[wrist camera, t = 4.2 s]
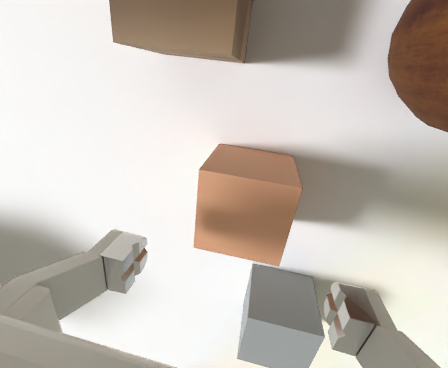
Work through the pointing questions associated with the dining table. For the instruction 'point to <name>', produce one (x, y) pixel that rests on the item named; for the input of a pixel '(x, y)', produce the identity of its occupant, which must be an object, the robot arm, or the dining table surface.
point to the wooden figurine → (422, 61)
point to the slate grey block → (280, 319)
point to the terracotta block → (246, 203)
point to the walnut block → (184, 27)
